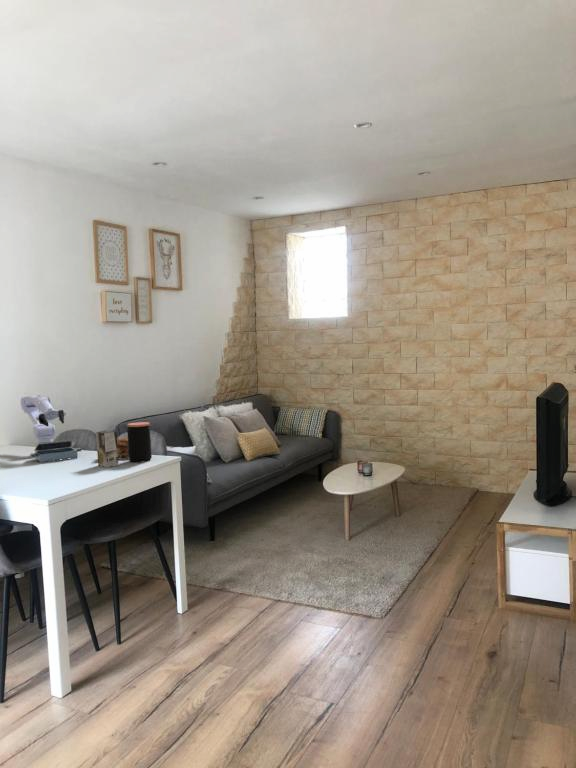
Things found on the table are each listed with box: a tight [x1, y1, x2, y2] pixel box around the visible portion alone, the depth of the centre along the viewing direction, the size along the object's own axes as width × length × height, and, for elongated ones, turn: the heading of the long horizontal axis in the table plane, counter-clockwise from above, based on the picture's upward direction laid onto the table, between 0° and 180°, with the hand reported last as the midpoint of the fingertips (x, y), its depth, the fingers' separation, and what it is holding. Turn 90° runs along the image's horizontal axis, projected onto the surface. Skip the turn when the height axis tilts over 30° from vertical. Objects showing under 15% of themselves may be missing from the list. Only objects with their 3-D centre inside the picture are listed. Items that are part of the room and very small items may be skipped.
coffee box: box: [95, 429, 119, 468], centre depth 295 cm, size 9×6×16 cm
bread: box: [117, 437, 129, 459], centre depth 317 cm, size 19×11×10 cm, turn 107°
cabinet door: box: [34, 438, 78, 452], centre depth 322 cm, size 15×19×2 cm
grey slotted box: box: [29, 446, 82, 463], centre depth 322 cm, size 14×24×4 cm, turn 120°
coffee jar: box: [126, 421, 153, 463], centre depth 304 cm, size 11×11×18 cm
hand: (55, 423), depth 318 cm, fingers open, 7 cm apart
